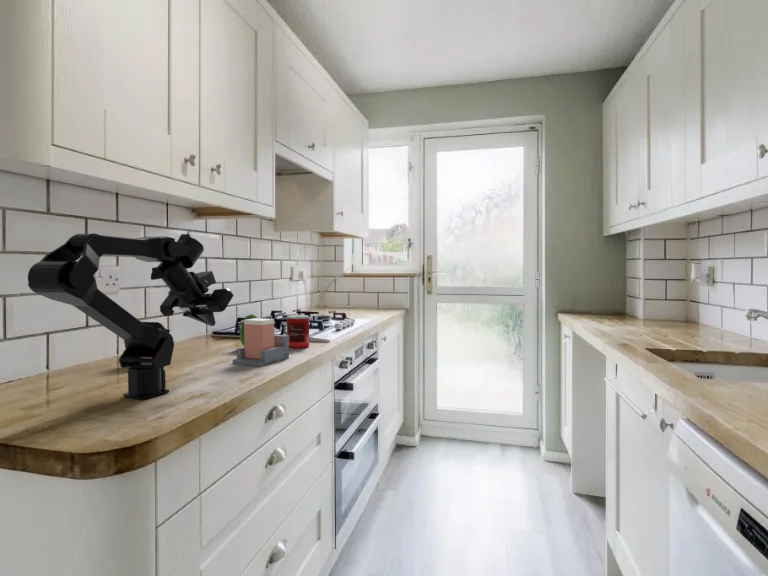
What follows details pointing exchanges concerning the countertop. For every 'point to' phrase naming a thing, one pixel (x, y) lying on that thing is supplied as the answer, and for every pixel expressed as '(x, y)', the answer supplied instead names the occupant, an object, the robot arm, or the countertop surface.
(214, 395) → the countertop surface
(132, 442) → the countertop surface
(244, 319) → the avocado
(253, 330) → the pink white rectangular block
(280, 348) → the housing
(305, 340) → the canned food
